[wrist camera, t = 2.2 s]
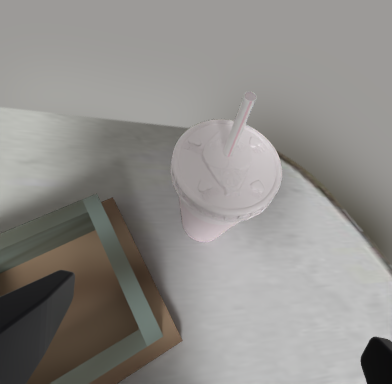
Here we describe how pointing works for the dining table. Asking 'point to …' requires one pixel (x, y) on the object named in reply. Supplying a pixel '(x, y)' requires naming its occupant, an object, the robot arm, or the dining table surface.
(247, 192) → the smoothie
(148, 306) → the dock
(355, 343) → the dining table surface
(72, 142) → the dining table surface
